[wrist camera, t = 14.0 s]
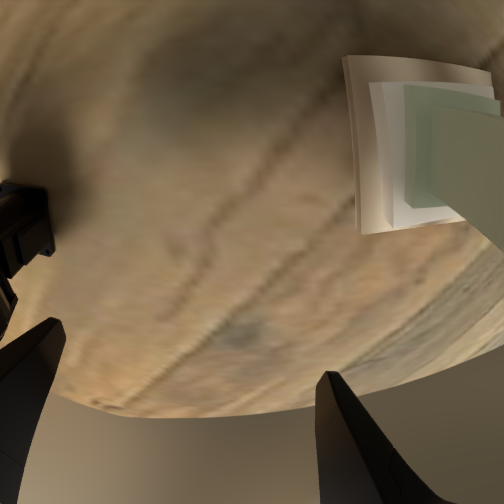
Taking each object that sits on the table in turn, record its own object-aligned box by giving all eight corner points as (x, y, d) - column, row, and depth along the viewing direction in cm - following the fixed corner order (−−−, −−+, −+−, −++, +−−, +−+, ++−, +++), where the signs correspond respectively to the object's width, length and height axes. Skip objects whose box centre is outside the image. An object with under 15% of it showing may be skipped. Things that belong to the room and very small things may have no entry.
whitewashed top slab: (382, 215, 19) (393, 229, 17) (368, 82, 14) (381, 82, 12) (477, 198, 17) (492, 209, 16) (475, 84, 13) (493, 87, 11)
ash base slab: (352, 222, 21) (360, 234, 19) (338, 58, 15) (347, 55, 13) (473, 208, 20) (485, 217, 18) (475, 71, 14) (490, 72, 12)
